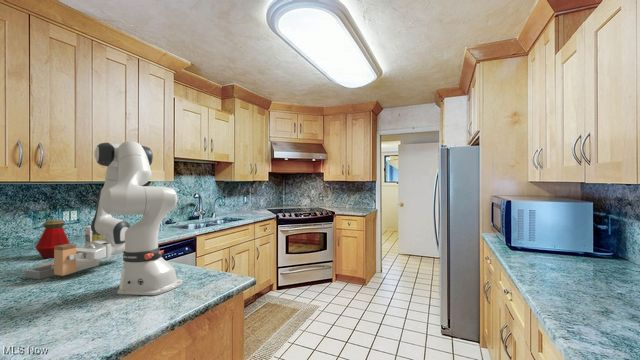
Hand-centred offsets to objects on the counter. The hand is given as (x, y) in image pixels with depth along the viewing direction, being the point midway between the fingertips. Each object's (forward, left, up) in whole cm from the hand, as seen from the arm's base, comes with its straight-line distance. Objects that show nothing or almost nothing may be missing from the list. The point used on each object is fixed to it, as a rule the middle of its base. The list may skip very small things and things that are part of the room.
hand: (62, 257), depth 116 cm
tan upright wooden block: (0, -1, -7) cm, 7 cm away
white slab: (+14, -7, -9) cm, 18 cm away
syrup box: (+42, -42, -9) cm, 60 cm away
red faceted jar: (+46, -24, -9) cm, 53 cm away
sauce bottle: (+32, -38, -9) cm, 51 cm away
